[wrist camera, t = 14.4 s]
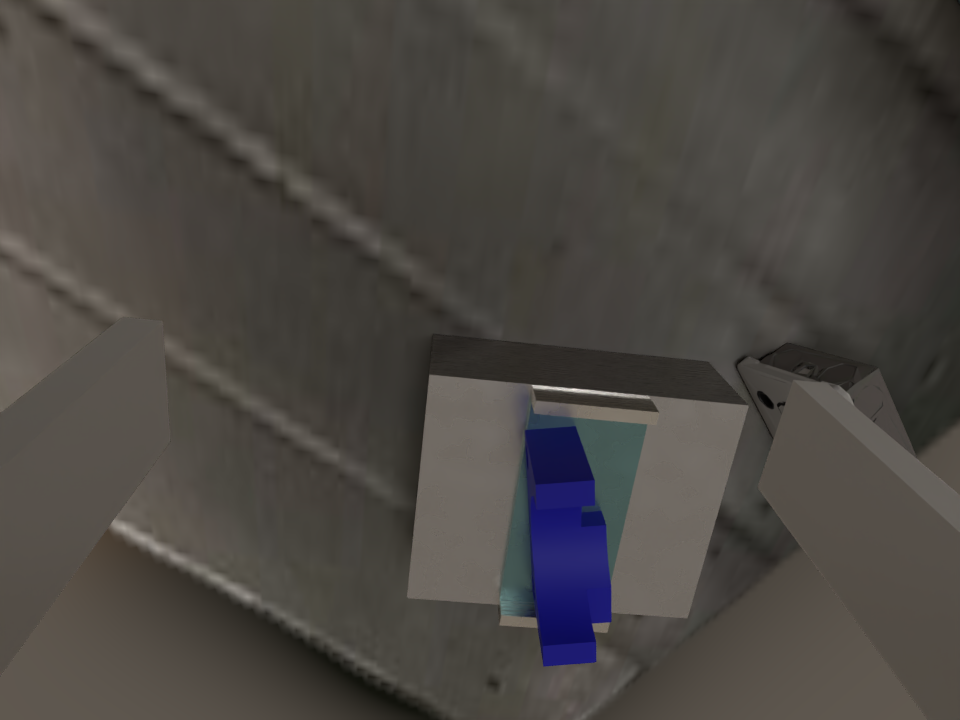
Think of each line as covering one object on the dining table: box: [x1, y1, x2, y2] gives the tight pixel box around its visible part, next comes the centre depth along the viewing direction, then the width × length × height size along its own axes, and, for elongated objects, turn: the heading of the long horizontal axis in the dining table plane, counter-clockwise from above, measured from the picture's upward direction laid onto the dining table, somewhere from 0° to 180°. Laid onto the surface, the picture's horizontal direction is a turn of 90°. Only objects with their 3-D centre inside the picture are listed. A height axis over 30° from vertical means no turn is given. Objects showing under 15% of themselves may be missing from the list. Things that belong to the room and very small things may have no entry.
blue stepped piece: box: [525, 426, 611, 666], centre depth 40 cm, size 12×4×6 cm, turn 4°
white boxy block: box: [407, 334, 749, 633], centre depth 45 cm, size 19×16×9 cm
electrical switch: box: [737, 343, 917, 459], centre depth 44 cm, size 9×5×9 cm, turn 32°
